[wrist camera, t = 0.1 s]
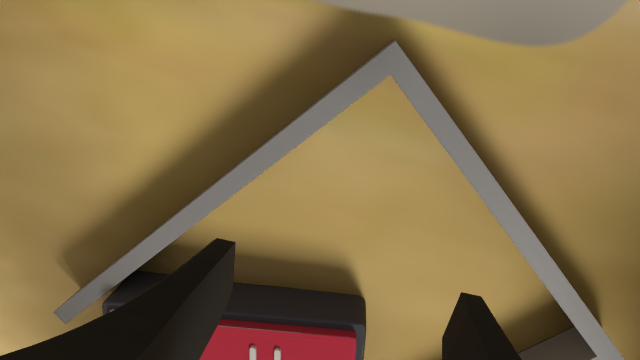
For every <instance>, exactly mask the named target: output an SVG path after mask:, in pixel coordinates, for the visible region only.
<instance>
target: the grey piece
mask: <svg viewBox="0 0 640 360" xmlns="http://www.w3.org/2000/svg"><path fill="white" fill-rule="evenodd" d="M389 75H391V76H392V77H393V79H394V80H395V82H396V83H397V84H398V86H399V87H400V88H401V90H402V91H403V92H404V94H405V95H406V97H407V98H408V99H409V101H410V102H411V103H412V105H413V106H414V107H415V109H416V110H417V112H418V113H419V114H420V116H421V117H422V118H423V120H424V121H425V122H426V124H427V125H428V127H429V128H430V129H431V131H432V132H433V133H434V135H435V136H436V137H437V139H438V140H439V142H440V143H441V144H442V146H443V147H444V148H445V150H446V151H447V152H448V154H449V155H450V157H451V158H452V159H453V161H454V162H455V163H456V165H457V166H458V167H459V169H460V170H461V172H462V173H463V174H464V176H465V177H466V178H467V180H468V181H469V182H470V184H471V185H472V187H473V188H474V189H475V191H476V192H477V193H478V195H479V196H480V197H481V199H482V200H483V202H484V203H485V204H486V206H487V207H488V208H489V210H490V211H491V212H492V214H493V215H494V217H495V218H496V219H497V221H498V222H499V223H500V225H501V226H502V227H503V229H504V230H505V232H506V233H507V234H508V236H509V237H510V238H511V240H512V241H513V242H514V244H515V245H516V247H517V248H518V249H519V251H520V252H521V253H522V255H523V256H524V257H525V259H526V260H527V262H528V263H529V264H530V266H531V267H532V268H533V270H534V271H535V272H536V274H537V275H538V277H539V278H540V279H541V281H542V282H543V283H544V285H545V286H546V287H547V289H548V290H549V292H550V293H551V294H552V296H553V297H554V298H555V300H556V301H557V302H558V304H559V305H560V307H561V308H562V309H563V311H564V312H565V313H566V315H567V316H568V317H569V319H570V320H571V322H572V323H573V324H574V327H572V328H570V329H568V330H566V331H564V332H562V333H560V334H558V335H556V336H554V337H552V338H549V339H547V340H545V341H543V342H541V343H539V344H537V345H535V346H533V347H531V348H529V349H526V350H524V351H522V352H520V353H518V355H519V356H520V358H521V359H522V360H625V359H624V358H623V357H622V355H621V354H620V353H619V351H618V350H617V348H616V347H615V346H614V344H613V343H612V341H611V340H610V339H609V337H608V336H607V334H606V333H605V332H604V330H603V329H602V327H601V326H600V325H599V323H598V322H597V321H596V319H595V318H594V316H593V315H592V314H591V312H590V311H589V309H588V308H587V307H586V305H585V304H584V302H583V301H582V300H581V298H580V297H579V295H578V294H577V293H576V291H575V290H574V288H573V287H572V286H571V284H570V283H569V282H568V280H567V279H566V277H565V276H564V275H563V273H562V272H561V270H560V269H559V268H558V266H557V265H556V263H555V262H554V261H553V259H552V258H551V256H550V255H549V254H548V252H547V251H546V249H545V248H544V247H543V245H542V244H541V243H540V241H539V240H538V238H537V237H536V236H535V234H534V233H533V231H532V230H531V229H530V227H529V226H528V224H527V223H526V222H525V220H524V219H523V217H522V216H521V215H520V213H519V212H518V211H517V209H516V208H515V206H514V205H513V204H512V202H511V201H510V199H509V198H508V197H507V195H506V194H505V192H504V191H503V190H502V188H501V187H500V185H499V184H498V183H497V181H496V180H495V178H494V177H493V176H492V174H491V173H490V172H489V170H488V169H487V167H486V166H485V165H484V163H483V162H482V160H481V159H480V158H479V156H478V155H477V153H476V152H475V151H474V149H473V148H472V146H471V145H470V144H469V142H468V141H467V140H466V138H465V137H464V135H463V134H462V133H461V131H460V130H459V128H458V127H457V126H456V124H455V123H454V121H453V120H452V119H451V117H450V116H449V114H448V113H447V112H446V110H445V109H444V107H443V106H442V105H441V103H440V102H439V101H438V99H437V98H436V96H435V95H434V94H433V92H432V91H431V89H430V88H429V87H428V85H427V84H426V82H425V81H424V80H423V78H422V77H421V75H420V74H419V73H418V71H417V70H416V68H415V67H414V66H413V64H412V63H411V62H410V60H409V59H408V57H407V56H406V55H405V53H404V52H403V50H402V49H401V48H400V46H399V45H398V43H397V42H396V41H395V40H393V41H391V42H390V43H389V44H388V45H386V46H385V47H384V48H383V49H381V50H380V51H379V52H378V53H376V54H375V55H374V56H373V57H371V58H370V59H369V60H368V61H366V62H365V63H364V64H363V65H361V66H360V67H359V68H357V69H356V70H355V71H354V72H352V73H351V74H350V75H349V76H347V77H346V78H345V79H344V80H342V81H341V82H340V83H339V84H337V85H336V86H335V87H334V88H332V89H331V90H330V91H329V92H327V93H326V94H325V95H324V96H322V97H321V98H320V99H319V100H317V101H316V102H315V103H313V104H312V105H311V106H310V107H308V108H307V109H306V110H305V111H303V112H302V113H301V114H300V115H298V116H297V117H296V118H295V119H293V120H292V121H291V122H290V123H288V124H287V125H286V126H285V127H283V128H282V129H281V130H280V131H278V132H277V133H276V134H274V135H273V136H272V137H271V138H269V139H268V140H267V141H266V142H264V143H263V144H262V145H261V146H259V147H258V148H257V149H256V150H254V151H253V152H252V153H251V154H249V155H248V156H247V157H246V158H244V159H243V160H242V161H241V162H239V163H238V164H237V165H236V166H234V167H233V168H232V169H230V170H229V171H228V172H227V173H225V174H224V175H223V176H222V177H220V178H219V179H218V180H217V181H215V182H214V183H213V184H212V185H210V186H209V187H208V188H207V189H205V190H204V191H203V192H202V193H200V194H199V195H198V196H197V197H195V198H194V199H193V200H191V201H190V202H189V203H188V204H186V205H185V206H184V207H183V208H181V209H180V210H179V211H178V212H176V213H175V214H174V215H173V216H171V217H170V218H169V219H168V220H166V221H165V222H164V223H163V224H161V225H160V226H159V227H158V228H156V229H155V230H154V231H153V232H151V233H150V234H149V235H147V236H146V237H145V238H144V239H142V240H141V241H140V242H139V243H137V244H136V245H135V246H134V247H132V248H131V249H130V250H129V251H127V252H126V253H125V254H124V255H122V256H121V257H120V258H119V259H117V260H116V261H115V262H114V263H112V264H111V265H110V266H109V267H107V268H106V269H105V270H103V271H102V272H101V273H100V274H98V275H97V276H96V277H95V278H93V279H92V280H91V281H90V282H88V283H87V284H86V285H85V286H83V287H82V288H81V289H80V290H78V291H77V292H76V293H75V294H74V295H73V296H72V297H70V298H69V299H68V300H67V301H66V302H65V303H64V304H62V305H61V306H60V307H59V308H58V309H57V310H55V311H54V313H55V314H56V315H57V316H58V317H59V318H60V319H61V320H62V321H63V322H64V323H65V324H66V323H67V322H69V321H70V320H71V319H73V318H74V317H75V316H76V315H78V314H79V313H80V312H82V311H83V310H84V309H86V308H87V307H88V306H89V305H91V304H92V303H93V302H95V301H96V300H97V299H99V298H100V297H101V296H103V295H104V294H105V293H106V292H108V291H109V290H110V289H112V288H113V287H114V286H116V285H117V284H118V283H119V282H121V281H122V280H123V279H125V278H126V277H127V276H129V275H130V274H131V273H132V272H134V271H135V270H136V269H138V268H139V267H140V266H142V265H143V264H144V263H145V262H147V261H148V260H149V259H151V258H152V257H153V256H155V255H156V254H157V253H158V252H160V251H161V250H162V249H164V248H165V247H166V246H168V245H169V244H170V243H172V242H173V241H174V240H175V239H177V238H178V237H179V236H181V235H182V234H183V233H185V232H186V231H187V230H188V229H190V228H191V227H192V226H194V225H195V224H196V223H198V222H199V221H200V220H201V219H203V218H204V217H205V216H207V215H208V214H209V213H211V212H212V211H213V210H214V209H216V208H217V207H218V206H220V205H221V204H222V203H224V202H225V201H226V200H228V199H229V198H230V197H231V196H233V195H234V194H235V193H237V192H238V191H239V190H241V189H242V188H243V187H244V186H246V185H247V184H248V183H250V182H251V181H252V180H254V179H255V178H256V177H257V176H259V175H260V174H261V173H263V172H264V171H265V170H267V169H268V168H269V167H270V166H272V165H273V164H274V163H276V162H277V161H278V160H280V159H281V158H282V157H284V156H285V155H286V154H287V153H289V152H290V151H291V150H293V149H294V148H295V147H297V146H298V145H299V144H300V143H302V142H303V141H304V140H306V139H307V138H308V137H310V136H311V135H312V134H313V133H315V132H316V131H317V130H319V129H320V128H321V127H323V126H324V125H325V124H326V123H328V122H329V121H330V120H332V119H333V118H334V117H336V116H337V115H338V114H339V113H341V112H342V111H343V110H345V109H346V108H347V107H349V106H350V105H351V104H353V103H354V102H355V101H356V100H358V99H359V98H360V97H362V96H363V95H364V94H366V93H367V92H368V91H369V90H371V89H372V88H373V87H375V86H376V85H377V84H379V83H380V82H381V81H382V80H384V79H385V78H386V77H388V76H389Z"/></svg>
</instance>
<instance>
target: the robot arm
mask: <svg viewBox="0 0 640 360" xmlns="http://www.w3.org/2000/svg"><path fill="white" fill-rule="evenodd" d="M234 258H235V242H232V241H228V240H223V239H218V238H217V239H215V240H213V241H212V242H211V243H210V244H209V245H207V246H206V247H205V248H204V249H202V250H201V251H200V252H199V253H198V254H196V255H195V256H194V257H192V258H191V259H190V260H189V261H187V262H186V263H185V264H184V265H182V266H181V267H179V268H178V269H177V270H175V271H174V272H173V273H171V274H170V275H169V276H167V277H166V278H165V279H163V280H162V281H160V282H159V283H157V284H156V285H154V286H153V287H151V288H150V289H148V290H147V291H145V292H144V293H142V294H141V295H139V296H137V297H136V298H134V299H132V300H131V301H129V302H127V303H125V304H124V305H122V306H120V307H118V308H117V309H115V310H113V311H111V312H109V313H107V314H105V315H103V316H101V317H99V318H97V319H95V320H93V321H91V322H89V323H87V324H84V325H82V326H80V327H78V328H76V329H73V330H71V331H69V332H66V333H64V334H61V335H59V336H56V337H54V338H51V339H49V340H46V341H43V342H41V343H38V344H35V345H32V346H29V347H26V348H23V349H20V350H17V351H14V352H11V353H8V354H5V355H2V356H0V360H199V359H200V357H201V356H202V354H203V352H204V350H205V348H206V346H207V344H208V343H209V341H210V339H211V337H212V335H213V333H214V331H215V329H216V328H217V326H218V324H219V322H220V320H221V318H222V316H223V313H224V311H225V308H226V306H227V303H228V300H229V298H230V295H231V292H232V290H233V275H234ZM442 360H522V359H521V358H520V356H519V355H518V353H517V352H516V350H515V349H514V347H513V346H512V344H511V343H510V341H509V340H508V338H507V337H506V335H505V334H504V332H503V330H502V329H501V327H500V326H499V324H498V323H497V321H496V319H495V318H494V316H493V315H492V313H491V311H490V310H489V308H488V306H487V305H486V303H485V302H484V300H483V299H482V297H481V296H476V295H471V294H467V293H462V292H461V294H460V297H459V299H458V301H457V304H456V306H455V309H454V311H453V313H452V316H451V318H450V321H449V323H448V325H447V328H446V330H445V333H444V335H443V337H442Z"/></svg>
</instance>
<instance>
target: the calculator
mask: <svg viewBox="0 0 640 360" xmlns="http://www.w3.org/2000/svg"><path fill="white" fill-rule="evenodd" d="M169 275H170V274H161V273H152V272H144V271H134V272H132V273H131V274H130V275H129V276H127V277H126V279H125V280H124V281H123V282H122V283H121V284H120V285H119V286H118V287H117V288H116V289H115V291H114V292H113V293H112V294H111V295H110V296H109V297H108V298H107V299H106V300H105V302H104V303H103V305H102V308H103V315H105V314H107V313H109V312H111V311H113V310H115V309H117V308H118V307H120V306H122V305H124V304H125V303H127V302H129V301H131V300H132V299H134V298H136V297H137V296H139V295H141V294H142V293H144V292H145V291H147V290H148V289H150V288H151V287H153V286H154V285H156V284H157V283H159V282H160V281H162V280H163V279H165V278H166V277H167V276H169ZM365 338H366V305H365V300H364V298H362V297H361V296H356V295H348V294H339V293H330V292H321V291H312V290H303V289H294V288H284V287H274V286H262V285H250V284H237V283H233V290H232V292H231V295H230V298H229V300H228V303H227V306H226V308H225V311H224V313H223V316H222V318H221V320H220V322H219V324H218V326H217V328H216V329H215V331H214V333H213V335H212V337H211V339H210V341H209V343H208V344H207V346H206V348H205V350H204V352H203V354H202V356H201V357H200V359H199V360H363V359H364V349H365Z"/></svg>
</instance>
